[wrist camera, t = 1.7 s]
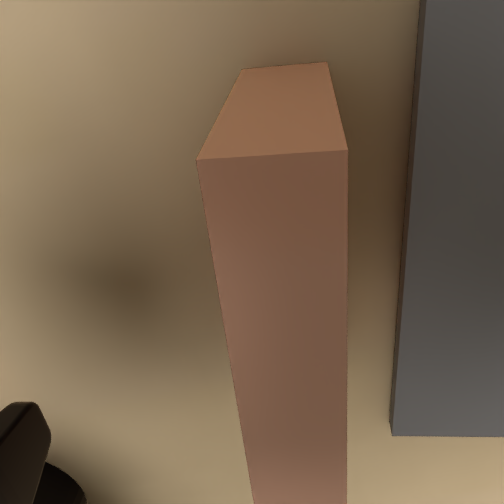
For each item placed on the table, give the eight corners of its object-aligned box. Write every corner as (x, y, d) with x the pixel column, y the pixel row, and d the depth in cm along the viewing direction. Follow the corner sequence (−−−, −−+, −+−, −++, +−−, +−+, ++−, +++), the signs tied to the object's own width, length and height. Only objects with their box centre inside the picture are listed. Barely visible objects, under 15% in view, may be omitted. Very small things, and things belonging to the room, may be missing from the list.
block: (331, 347, 16) (346, 532, 11) (271, 348, 16) (258, 530, 11) (326, 61, 11) (347, 149, 6) (242, 68, 11) (195, 159, 6)
